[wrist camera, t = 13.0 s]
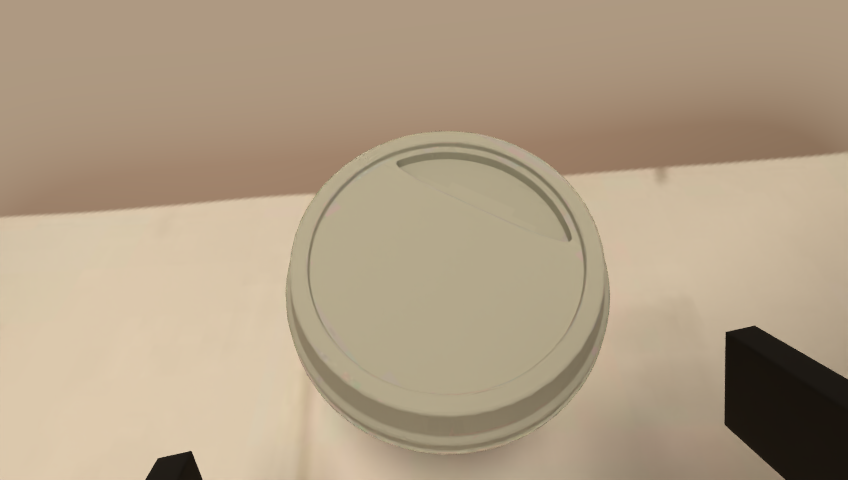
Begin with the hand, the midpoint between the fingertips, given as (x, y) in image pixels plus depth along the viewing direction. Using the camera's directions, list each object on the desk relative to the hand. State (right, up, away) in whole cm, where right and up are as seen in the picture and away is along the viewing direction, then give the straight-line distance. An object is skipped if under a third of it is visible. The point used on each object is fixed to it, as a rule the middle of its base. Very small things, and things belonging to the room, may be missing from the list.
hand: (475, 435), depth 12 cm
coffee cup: (0, -1, +10) cm, 10 cm away
